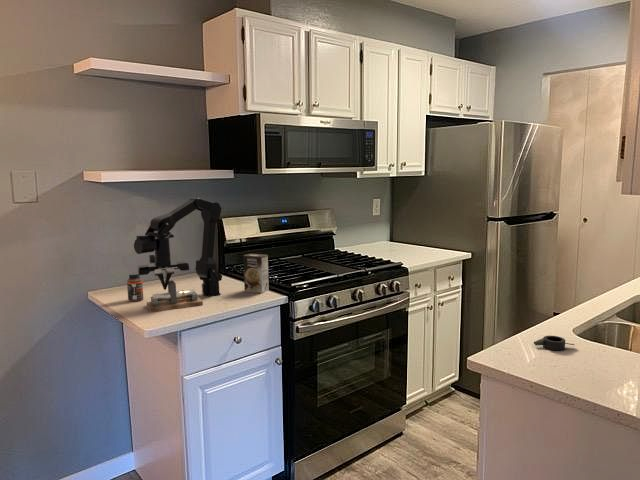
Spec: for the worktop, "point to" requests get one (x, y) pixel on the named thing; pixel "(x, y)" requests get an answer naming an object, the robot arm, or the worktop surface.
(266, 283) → the coffee box
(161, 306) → the board
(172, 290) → the slotted grey bracket
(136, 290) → the supplement bottle
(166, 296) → the pipe rig
